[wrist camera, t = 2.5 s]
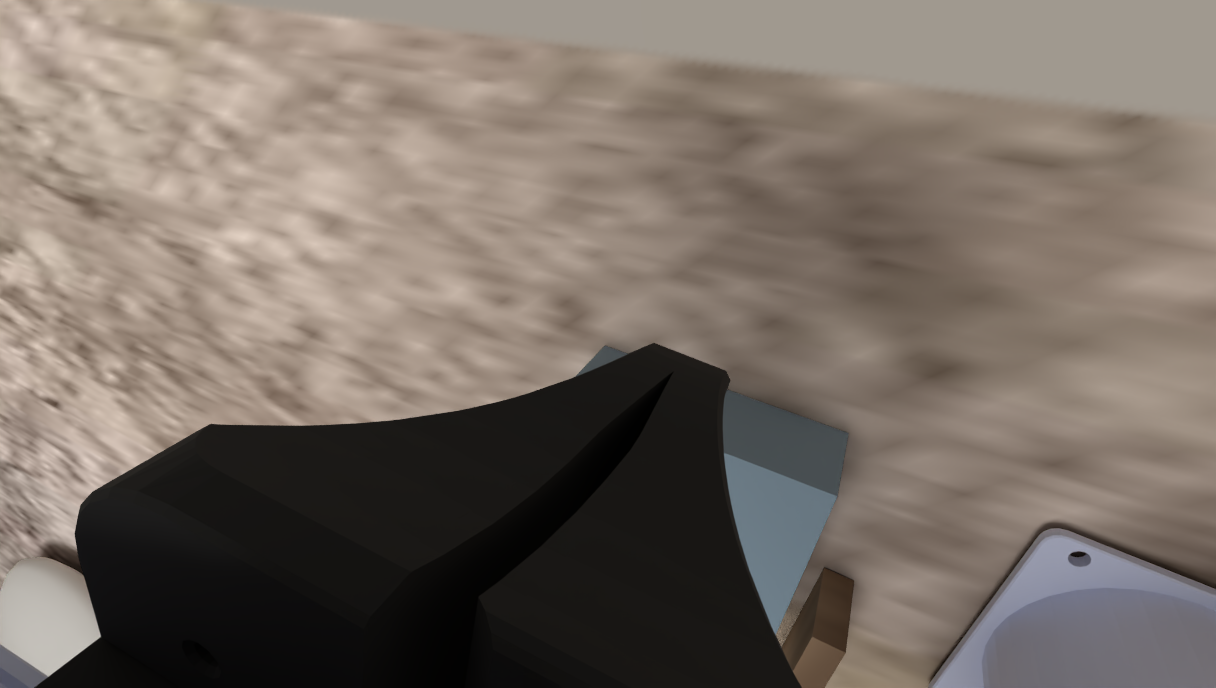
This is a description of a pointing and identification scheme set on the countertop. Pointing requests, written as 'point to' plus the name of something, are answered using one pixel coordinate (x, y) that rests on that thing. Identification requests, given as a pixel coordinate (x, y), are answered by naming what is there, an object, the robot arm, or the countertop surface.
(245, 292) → the countertop surface
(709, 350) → the countertop surface
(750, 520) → the slate block
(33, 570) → the flower in vase
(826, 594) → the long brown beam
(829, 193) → the countertop surface
